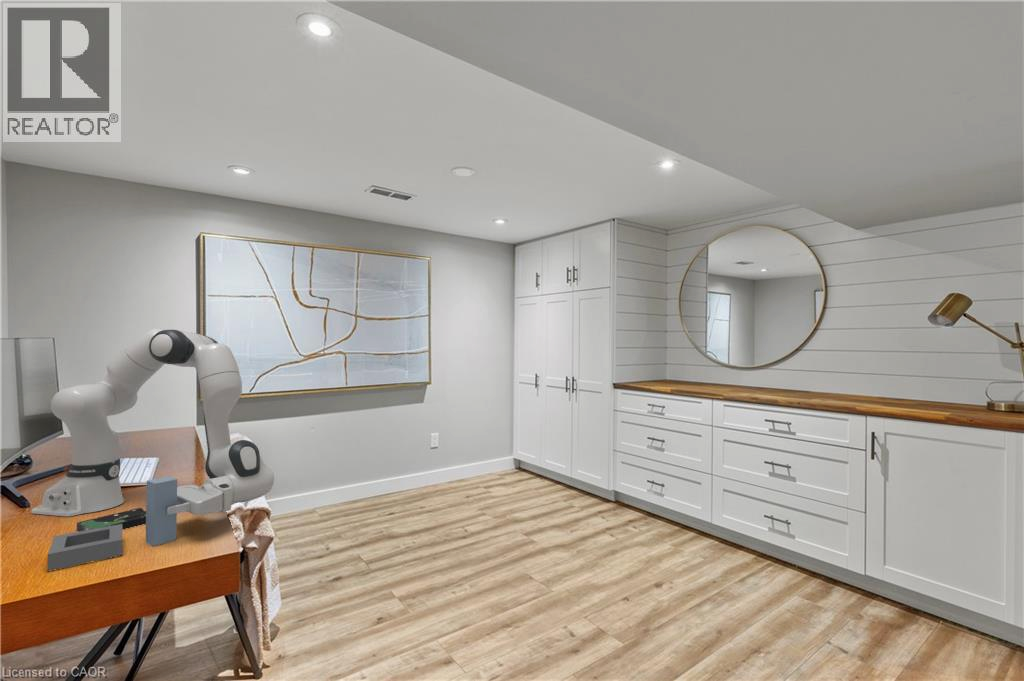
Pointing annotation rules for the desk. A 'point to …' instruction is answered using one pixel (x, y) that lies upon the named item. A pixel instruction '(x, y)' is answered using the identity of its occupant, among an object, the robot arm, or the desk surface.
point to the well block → (85, 547)
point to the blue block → (160, 510)
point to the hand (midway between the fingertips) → (158, 507)
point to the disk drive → (115, 520)
